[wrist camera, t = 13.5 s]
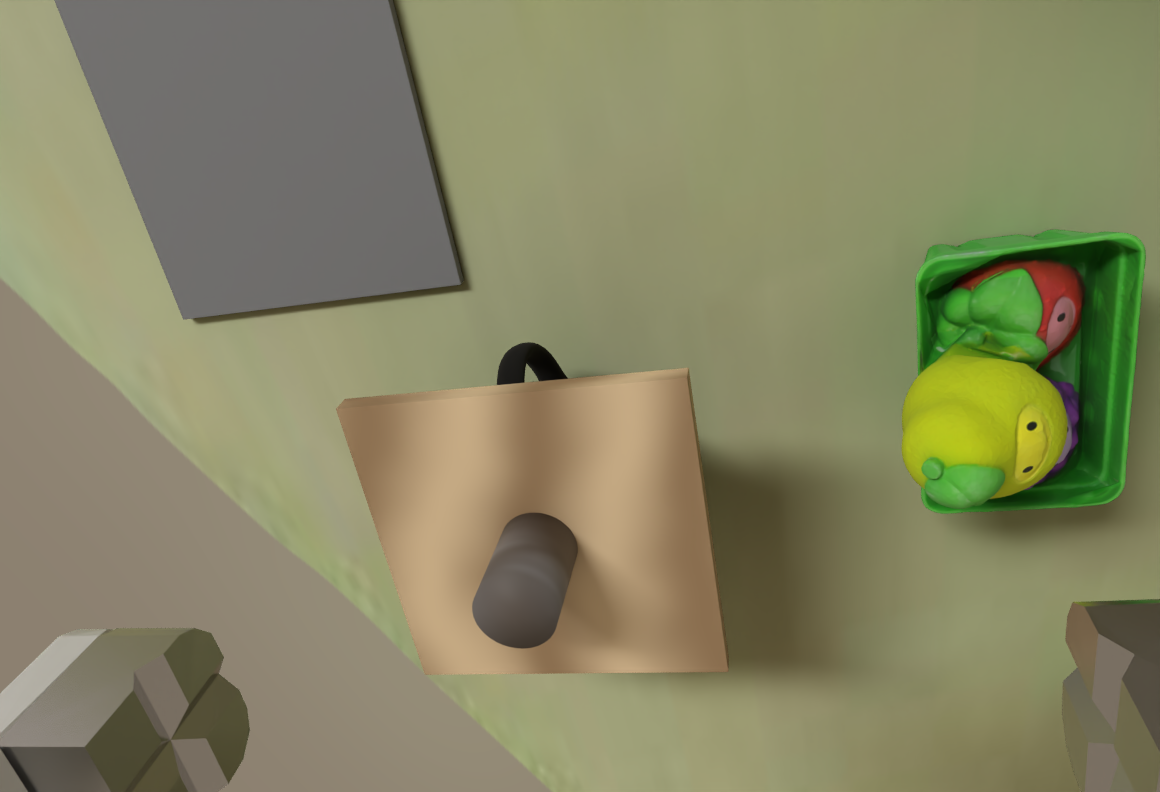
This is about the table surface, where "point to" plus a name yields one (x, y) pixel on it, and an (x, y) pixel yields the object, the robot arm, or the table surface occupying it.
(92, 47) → the mat
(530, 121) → the table surface
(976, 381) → the fruit basket
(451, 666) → the lid
